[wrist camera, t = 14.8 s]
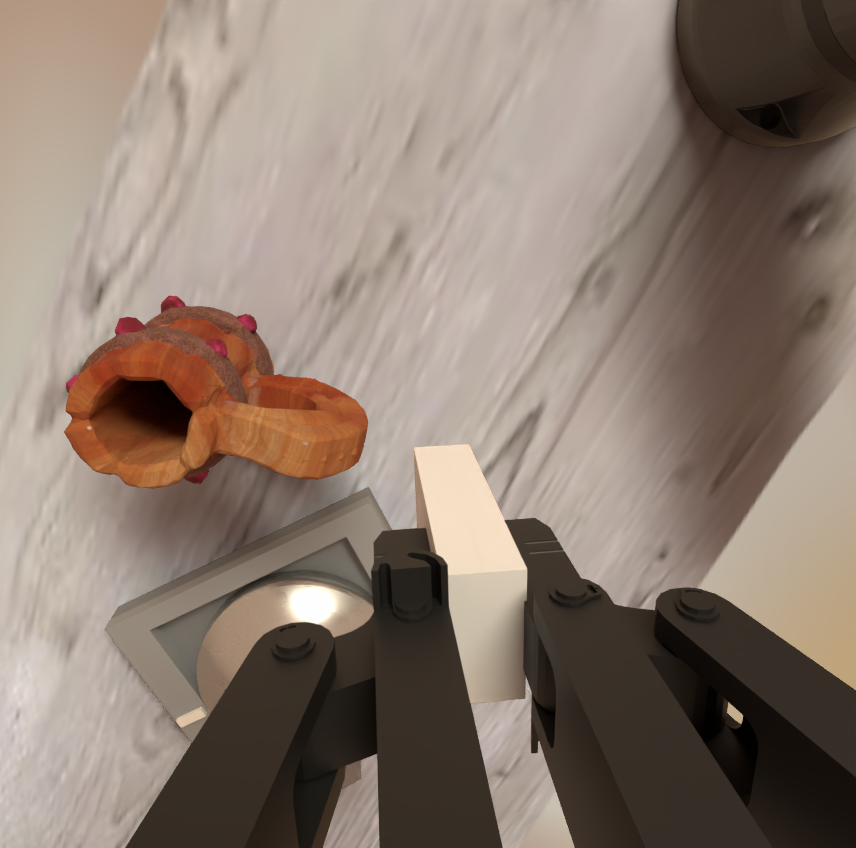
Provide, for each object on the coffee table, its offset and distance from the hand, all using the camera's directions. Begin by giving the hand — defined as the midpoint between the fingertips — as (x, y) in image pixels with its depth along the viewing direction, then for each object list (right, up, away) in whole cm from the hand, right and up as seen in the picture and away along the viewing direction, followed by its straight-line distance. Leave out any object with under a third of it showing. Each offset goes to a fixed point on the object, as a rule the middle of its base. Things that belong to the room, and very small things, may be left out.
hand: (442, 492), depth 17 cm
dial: (-10, -15, +29) cm, 34 cm away
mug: (-12, +6, +24) cm, 28 cm away
